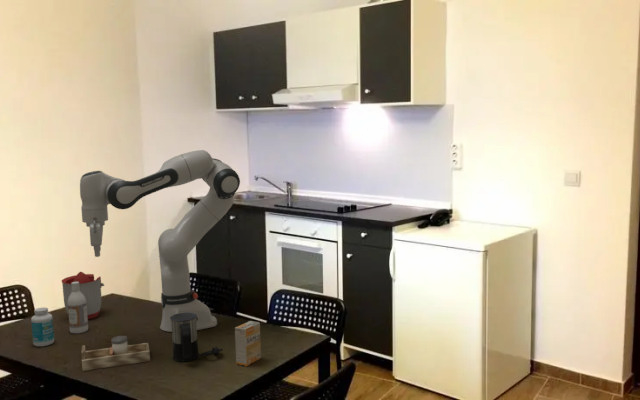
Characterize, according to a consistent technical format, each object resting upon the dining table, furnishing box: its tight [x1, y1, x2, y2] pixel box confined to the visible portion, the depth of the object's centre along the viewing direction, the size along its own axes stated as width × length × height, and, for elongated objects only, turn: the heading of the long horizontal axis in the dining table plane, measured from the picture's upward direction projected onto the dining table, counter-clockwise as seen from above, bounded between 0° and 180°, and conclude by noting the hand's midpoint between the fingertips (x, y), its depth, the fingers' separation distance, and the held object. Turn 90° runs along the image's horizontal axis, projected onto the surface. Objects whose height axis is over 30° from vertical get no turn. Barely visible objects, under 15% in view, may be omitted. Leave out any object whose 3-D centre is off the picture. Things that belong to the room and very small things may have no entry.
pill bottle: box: [30, 307, 55, 347], centre depth 234 cm, size 8×7×14 cm
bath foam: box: [67, 282, 89, 334], centre depth 247 cm, size 7×7×20 cm
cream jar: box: [110, 335, 129, 355], centre depth 215 cm, size 5×5×7 cm
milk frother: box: [170, 313, 223, 362], centre depth 217 cm, size 14×16×15 cm
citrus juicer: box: [61, 271, 105, 320], centre depth 265 cm, size 16×17×20 cm
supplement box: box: [234, 320, 262, 367], centre depth 211 cm, size 8×5×13 cm, turn 148°
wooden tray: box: [80, 342, 151, 372], centre depth 215 cm, size 22×9×6 cm, turn 108°
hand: (97, 253), depth 226 cm, fingers open, 8 cm apart
